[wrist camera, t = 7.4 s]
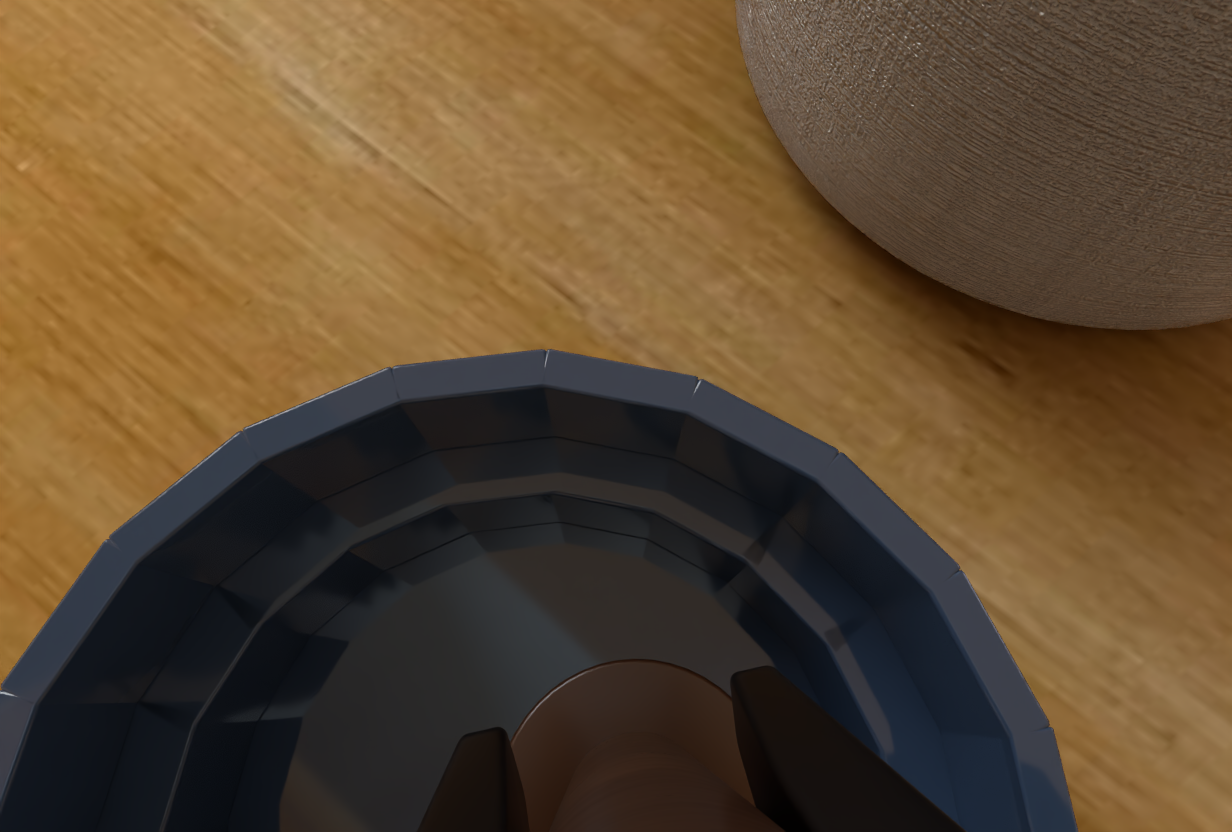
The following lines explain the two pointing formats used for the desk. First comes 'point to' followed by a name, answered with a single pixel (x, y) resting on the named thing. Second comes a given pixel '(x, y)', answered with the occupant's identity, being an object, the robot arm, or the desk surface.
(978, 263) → the planter
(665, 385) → the bowl
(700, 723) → the stirring stick
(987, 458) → the desk surface
